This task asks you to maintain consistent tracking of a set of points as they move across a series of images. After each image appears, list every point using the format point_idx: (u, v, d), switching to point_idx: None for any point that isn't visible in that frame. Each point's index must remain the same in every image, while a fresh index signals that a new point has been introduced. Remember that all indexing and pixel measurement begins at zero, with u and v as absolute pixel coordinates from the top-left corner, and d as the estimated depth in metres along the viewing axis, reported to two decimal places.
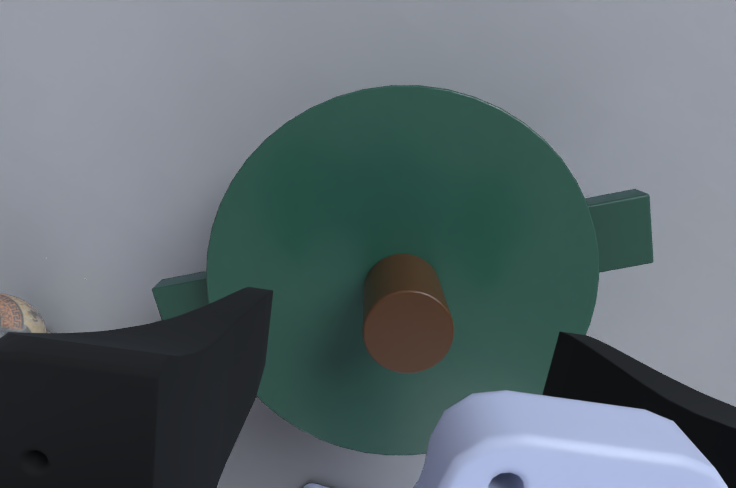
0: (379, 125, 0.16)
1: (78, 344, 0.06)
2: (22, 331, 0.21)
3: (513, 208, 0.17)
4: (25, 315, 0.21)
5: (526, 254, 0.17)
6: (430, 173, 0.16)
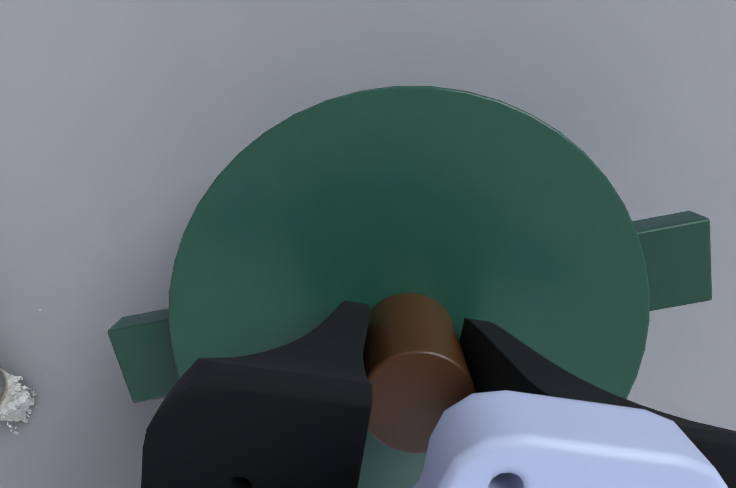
0: (380, 136, 0.13)
1: (282, 372, 0.06)
2: None
3: (545, 237, 0.14)
4: None
5: (560, 293, 0.14)
6: (443, 195, 0.13)
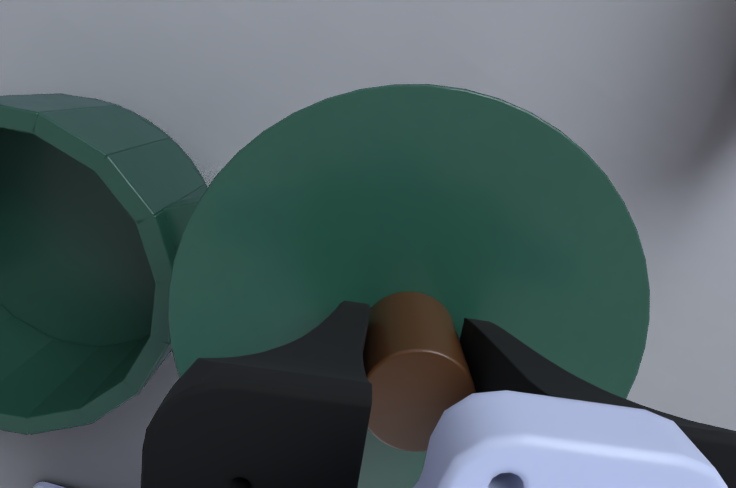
0: (379, 134, 0.13)
1: (282, 372, 0.06)
2: None
3: (545, 236, 0.14)
4: None
5: (560, 292, 0.14)
6: (443, 193, 0.13)
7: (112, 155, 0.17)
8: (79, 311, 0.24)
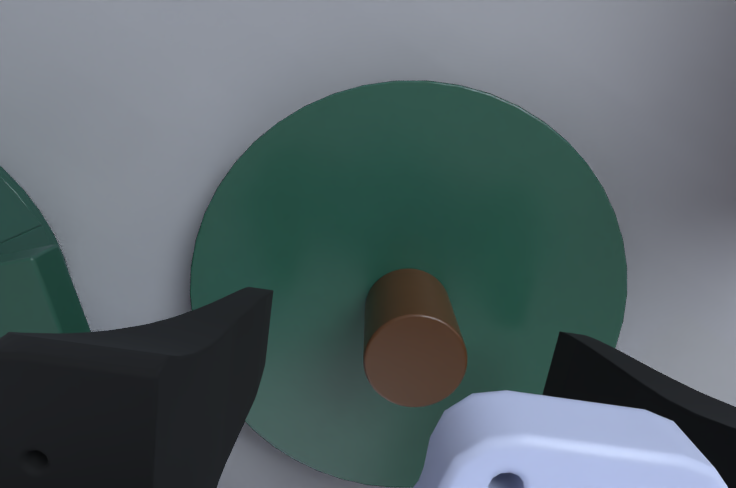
0: (381, 126, 0.14)
1: (78, 344, 0.06)
2: None
3: (532, 218, 0.15)
4: None
5: (546, 269, 0.15)
6: (439, 179, 0.15)
7: None
8: None
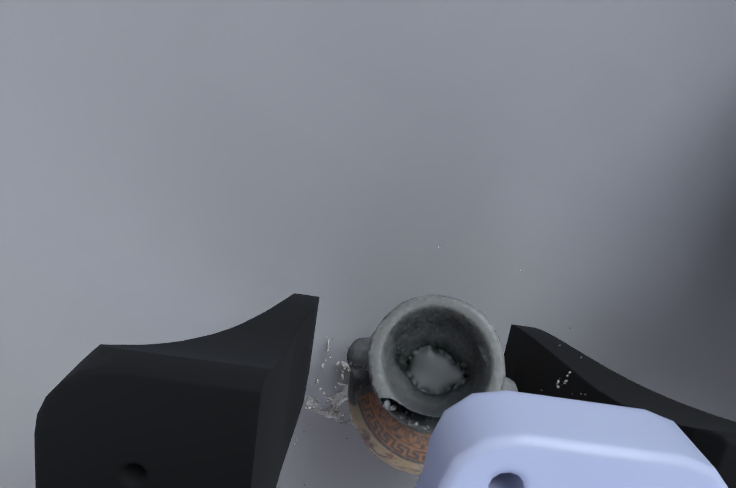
0: None
1: (177, 357, 0.06)
2: None
3: None
4: None
5: None
6: None
7: None
8: None
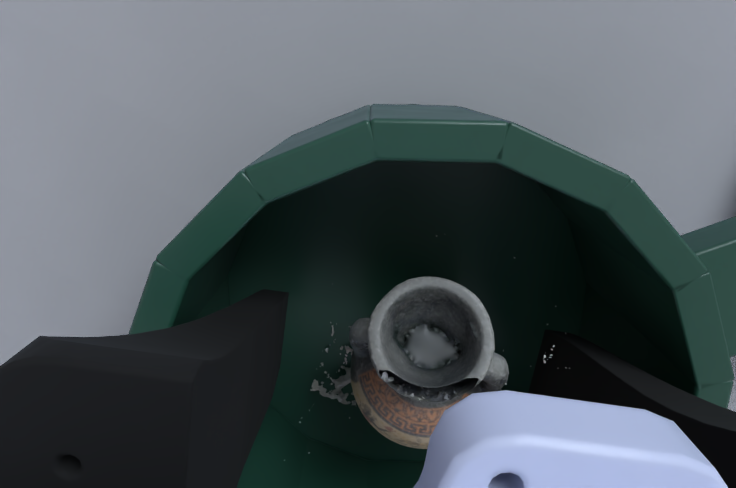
0: None
1: (112, 348, 0.06)
2: None
3: None
4: None
5: None
6: None
7: None
8: None
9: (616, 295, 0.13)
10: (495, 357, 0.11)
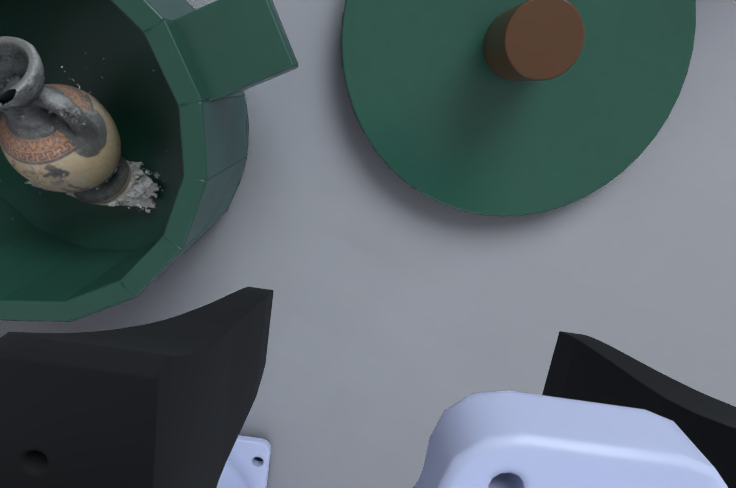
0: None
1: (78, 344, 0.06)
2: (93, 115, 0.17)
3: None
4: (93, 101, 0.18)
5: None
6: None
7: None
8: (108, 212, 0.22)
9: None
10: (58, 94, 0.16)
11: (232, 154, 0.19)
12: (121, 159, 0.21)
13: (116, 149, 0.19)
